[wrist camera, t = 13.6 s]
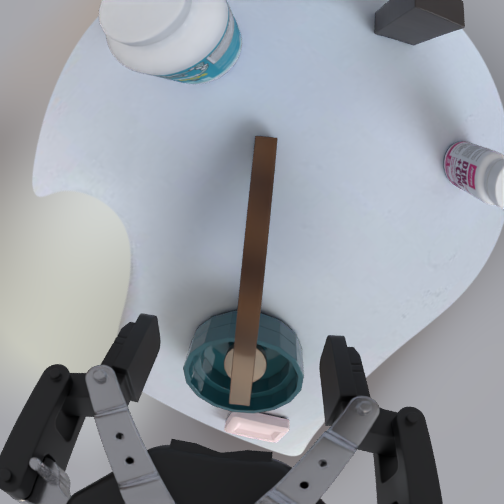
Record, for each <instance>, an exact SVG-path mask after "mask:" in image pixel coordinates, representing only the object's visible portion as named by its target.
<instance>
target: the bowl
mask: <svg viewBox="0 0 504 504" xmlns="http://www.w3.org/2000/svg"><path fill="white" fill-rule="evenodd" d="M236 320H237V311H231V312H228V313H224V314H220V315H217V316H213V317H211V318H210V319H209V320H207V321H206V322H205V323H203V324H202V325H201V326H200V327H198V328H197V330H196V333H195V335H194V337H193V340H192V342H191V345H190V348H189V351H188V354H187V357H186V360H185V363H184V367H183V370H184V374H185V379H186V383H187V384H188V385H189V387H190V388H191V389H192V390H193V391H194V393H195V394H196V395H197V396H198V397H200V398H201V399H203V400H205V401H206V402H208V403H209V404H211V405H213V406H215V407H218V408H222V409H225V410H228V411H232V412H241V413H259V412H265V411H271V410H275V409H277V408H279V407H281V406H283V405H285V404H287V403H289V402H291V401H292V400H293V399H294V397H295V396H296V395H297V394H298V393H299V392H300V391H301V388H302V383H303V378H304V370H303V356H302V347H301V345H300V343H299V340H298V338H297V336H296V334H295V332H293V331H292V330H291V329H290V328H289V327H288V326H286V325H285V324H284V323H283V322H282V321H280V320H278V319H275V318H273V317H270V316H267V315H265V314H262V313H260V320H259V329H258V338H257V344H258V345H260V346H261V347H262V348H263V349H264V351H265V353H266V359H267V367H266V371H265V373H264V375H263V376H262V377H261V378H260V379H259V380H257V381H255V382H253V383H252V391H251V399H250V406H244V405H235V404H229V395H230V384H231V378H230V377H229V376H228V375H227V373H226V371H225V369H224V359H225V356H226V353H227V351H228V349H229V347H230V346H231V345H232V344H234V341H235V330H236Z"/></svg>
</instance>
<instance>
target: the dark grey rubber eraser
mask: <svg viewBox="0 0 504 504" xmlns="http://www.w3.org/2000/svg"><path fill="white" fill-rule="evenodd" d="M464 27H465V24H464V7H463V1H462V0H389V1H388V2H387V3H386V4H385V5H383V6H382V7H381V8H380V9H379V10H378V11H377V12H376V13H375V34H377V35H381V36H385V37H388V38H392V39H395V40H399V41H402V42H405V43H408V44H411V45H416V44H419V43H421V42H424V41H427V40H430V39H432V38H435V37H438V36H441V35H444V34H447V33H450V32H453V31H456V30H459V29H462V28H464Z"/></svg>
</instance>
